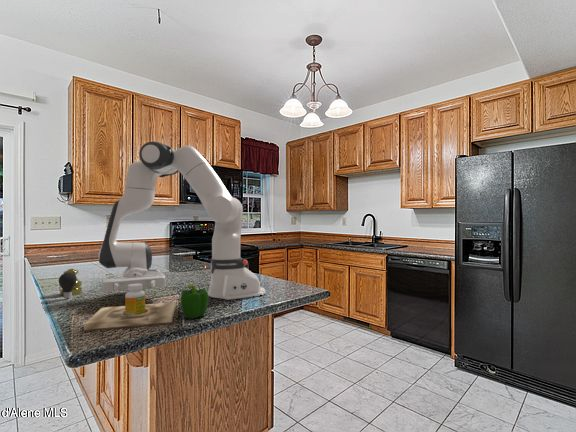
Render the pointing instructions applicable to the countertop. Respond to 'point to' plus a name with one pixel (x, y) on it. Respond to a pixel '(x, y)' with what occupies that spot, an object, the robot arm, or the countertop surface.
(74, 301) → the countertop surface
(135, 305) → the supplement bottle
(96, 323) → the socket board
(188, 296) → the bell pepper
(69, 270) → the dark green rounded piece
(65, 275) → the light bulb
